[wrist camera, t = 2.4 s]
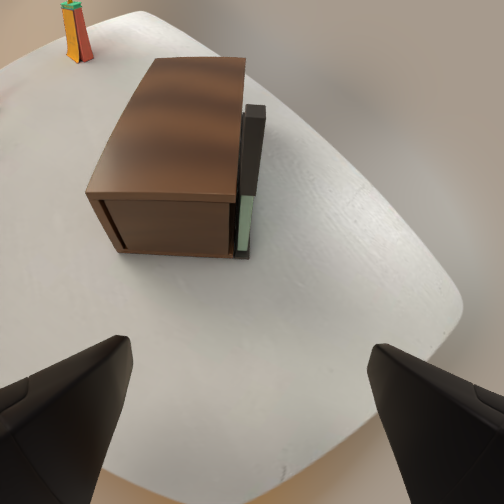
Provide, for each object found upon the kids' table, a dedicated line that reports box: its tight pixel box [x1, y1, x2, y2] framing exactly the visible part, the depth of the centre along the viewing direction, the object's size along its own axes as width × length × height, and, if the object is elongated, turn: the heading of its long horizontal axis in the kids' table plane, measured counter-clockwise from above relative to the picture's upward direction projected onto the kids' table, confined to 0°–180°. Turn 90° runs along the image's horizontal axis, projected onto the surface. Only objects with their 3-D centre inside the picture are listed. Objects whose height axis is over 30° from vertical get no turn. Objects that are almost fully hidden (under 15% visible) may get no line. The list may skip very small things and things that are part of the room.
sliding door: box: [237, 104, 266, 251], centre depth 22 cm, size 10×1×13 cm, turn 179°
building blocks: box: [61, 0, 93, 63], centre depth 33 cm, size 12×35×14 cm, turn 133°
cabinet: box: [85, 57, 250, 259], centre depth 26 cm, size 20×11×8 cm, turn 179°
